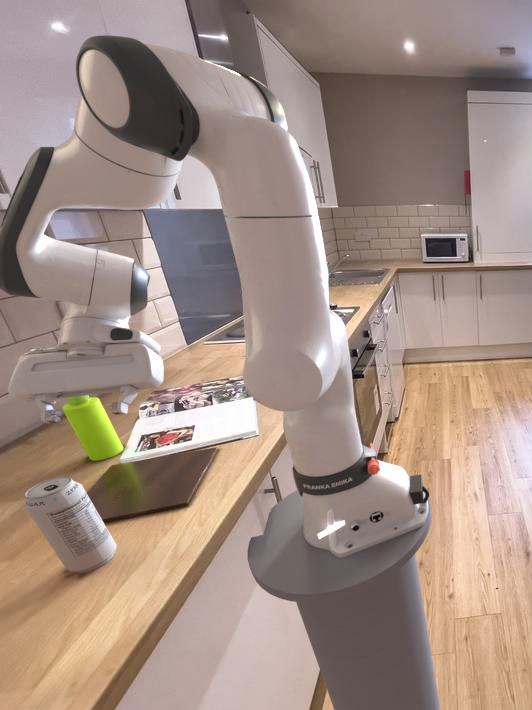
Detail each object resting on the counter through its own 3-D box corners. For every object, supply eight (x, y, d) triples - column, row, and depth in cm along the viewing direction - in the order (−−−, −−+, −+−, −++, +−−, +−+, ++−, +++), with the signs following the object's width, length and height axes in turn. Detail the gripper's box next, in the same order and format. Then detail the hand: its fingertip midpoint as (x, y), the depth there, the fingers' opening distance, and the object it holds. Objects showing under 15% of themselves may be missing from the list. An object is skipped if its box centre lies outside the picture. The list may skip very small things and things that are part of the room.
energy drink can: (104, 542, 70) (62, 470, 63) (127, 550, 68) (86, 478, 62) (59, 570, 65) (8, 495, 58) (83, 580, 63) (33, 504, 56)
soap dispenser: (134, 447, 97) (96, 369, 88) (97, 463, 91) (53, 381, 82) (120, 441, 99) (82, 365, 90) (84, 457, 93) (40, 377, 85)
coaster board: (218, 449, 95) (217, 446, 95) (188, 505, 78) (187, 502, 77) (113, 468, 89) (111, 465, 89) (55, 532, 72) (53, 529, 72)
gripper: (4, 341, 67) (-13, 421, 63) (150, 330, 72) (144, 403, 68) (37, 357, 73) (24, 432, 69) (171, 345, 78) (166, 414, 74)
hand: (85, 417), depth 68 cm, fingers open, 8 cm apart
